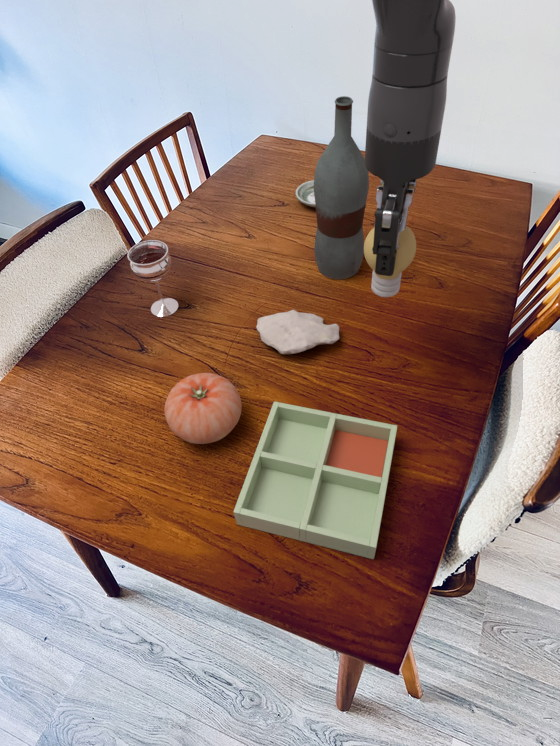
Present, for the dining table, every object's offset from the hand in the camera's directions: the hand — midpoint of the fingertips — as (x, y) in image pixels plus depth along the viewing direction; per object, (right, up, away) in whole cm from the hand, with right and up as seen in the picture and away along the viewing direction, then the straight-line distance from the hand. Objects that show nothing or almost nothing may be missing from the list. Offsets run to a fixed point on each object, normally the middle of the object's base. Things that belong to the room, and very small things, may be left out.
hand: (389, 256), depth 65 cm
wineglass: (-35, -3, +28) cm, 45 cm away
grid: (-8, -29, +4) cm, 31 cm away
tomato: (-24, -22, +11) cm, 35 cm away
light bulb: (0, -4, +5) cm, 6 cm away
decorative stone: (-11, -9, +22) cm, 26 cm away
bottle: (-3, +5, +33) cm, 34 cm away
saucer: (-5, +23, +48) cm, 53 cm away
